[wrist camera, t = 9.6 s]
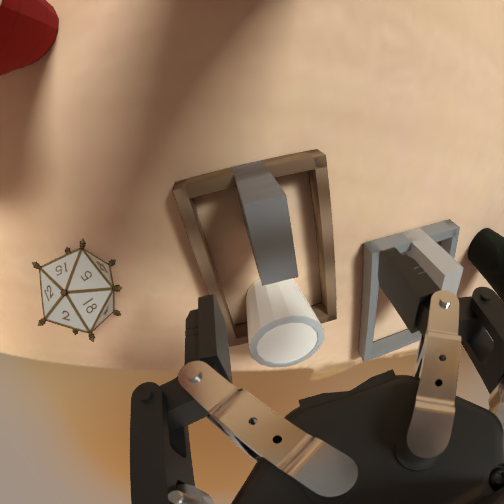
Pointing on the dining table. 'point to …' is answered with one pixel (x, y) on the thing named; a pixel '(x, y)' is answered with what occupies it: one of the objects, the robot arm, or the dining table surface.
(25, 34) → the plastic cup
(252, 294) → the white cylinder
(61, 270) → the game die
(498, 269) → the cup
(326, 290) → the wooden picture frame
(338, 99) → the dining table surface
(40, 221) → the dining table surface
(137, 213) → the dining table surface
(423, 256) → the grey hollow rectangular frame
